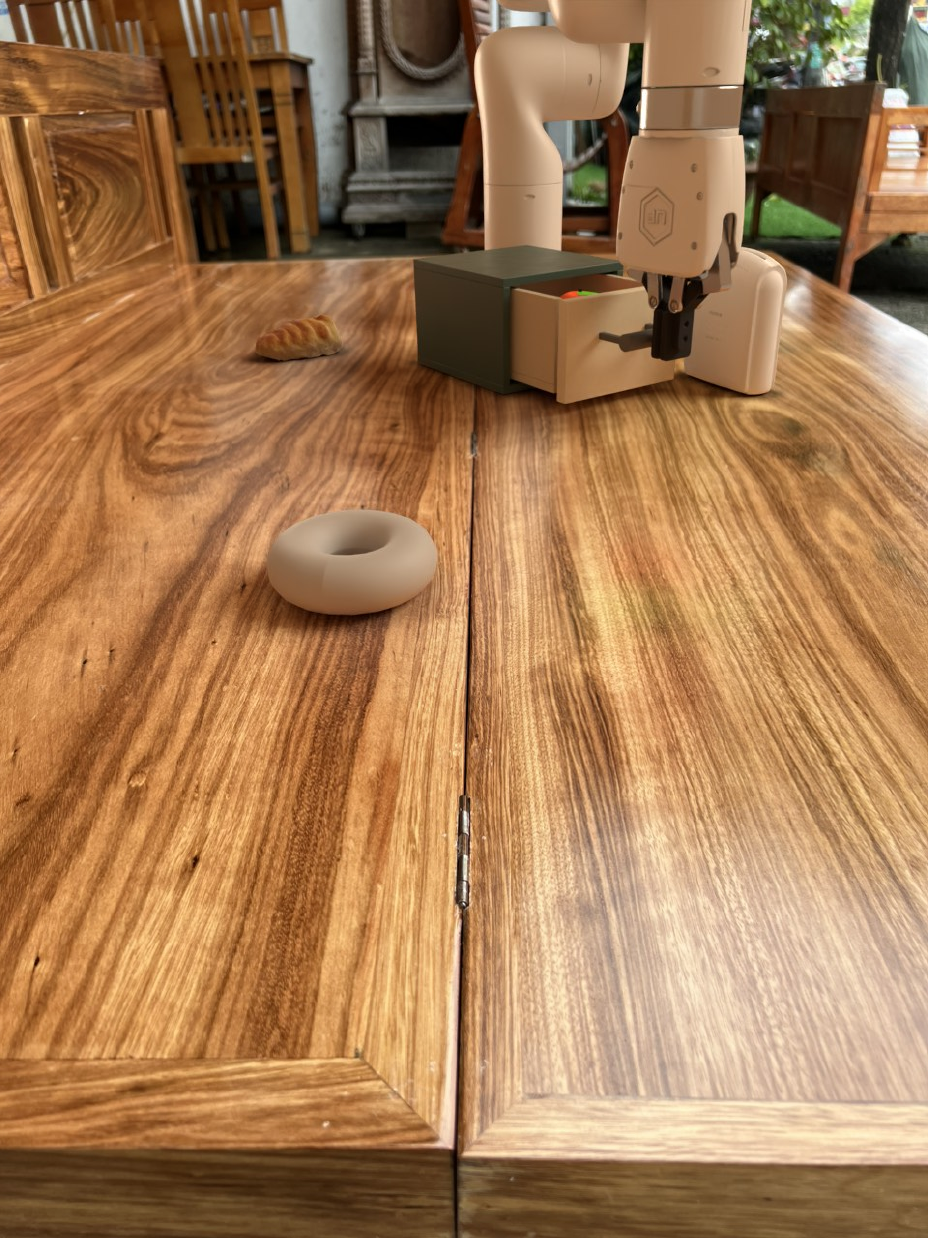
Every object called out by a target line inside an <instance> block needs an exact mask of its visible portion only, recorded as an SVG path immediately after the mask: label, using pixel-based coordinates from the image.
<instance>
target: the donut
mask: <svg viewBox="0 0 928 1238" xmlns="http://www.w3.org/2000/svg"><path fill="white" fill-rule="evenodd" d="M438 558H439V552H438V547H437V546H436V543H435V541H434V540H433V538H432V537H431V534H430V533H429V531H428V530H427V529H426V528H424V527H423V526H422V525H420V524H419V523H418V522H416V521H414V520H413V519H411V518H410V517H407V516H403V515H401V514H398V513H395V512H390V511H383V510H378V509H377V510H376V509H344V510H343V509H342V510H335V511H329V512H325V513H321V514H316V515H313V516H311V517H308V518H306V519H303V520H301V521H297V522H296V523H293V524H292V525H290V526H289V527H288V528H286V529H284V530H283V531H282V532H281V533H280V534H279V535H277V537H275V539H274V541H273V543H272V544H271V547H270V548H269V550H268V552H267V555H266V563H265V565H266V571H267V576H268V577H267V578H268V580H269V583H270V585H271V586H272V587H273V589H274V590H275V592H277V593H278V594H279V595H280V596H281V597H282V598H283V599H284V600H285V601H286V602H288V603H290V604H291V605H294V606H296V607H298V608H301V609H303V610H305V611H308V612H313V613H318V614H322V615H329V616H356V615H364V614H371V613H378V612H381V611H385V610H388V609H392V608H396V607H398V606H401V605H403V604H404V603H407V602H409V601H410V600H412V599H414V598H415V597H417V596H418V595H419V594H420V593H422V591H423V590H424V589H425V588H426V587H427V586H428V585H429V584H430V583H431V582H432V580H433V578H434V576H435V575H436V574H435V573H436V569H437V564H438Z"/></svg>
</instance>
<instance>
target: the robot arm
mask: <svg viewBox="0 0 928 1238" xmlns="http://www.w3.org/2000/svg"><path fill="white" fill-rule="evenodd" d="M495 1H496V3H498V5H499V6H501V7H502V8H504V9H506V10H509V11H514V12H521V13H522V12H524V13H550V14H551V18H552V20H553V22H554V25H525V26H523V25H522V26H511V27H510V26H509V27H504V28H501V29H498V30H496V31H493V32H491V33H489V34H488V35H487V36H486V37H484V38H483V39H482V41H481V42H480V43H479V45H478V47H477V50H476V52H475V57H474V64H473V75H474V76H473V77H474V84H475V92H476V99H477V104H478V112H479V119H480V127H481V128H480V129H481V140H482V141H481V142H482V157H483V158H482V159H483V160H482V161H483V213H484V214H483V215H484V217H483V219H484V220H483V222H484V225H483V226H484V230H483V231H484V250H490V249H498V248H506V247H514V246H522V245H530V246H536V247H542V248H548V249H554V250H560V251H562V232H563V231H562V230H563V228H562V227H563V190H564V189H563V188H564V170H563V169H564V168H563V167H564V166H563V160H562V157H561V154H560V152H559V150H558V148H557V146H556V144H555V143H554V142H553V140H552V138H551V137H550V136H549V134H548V132H547V131H546V130H545V127H544V125H543V124H544V123H552V122H556V121H557V122H564V121H565V122H566V121H567V122H568V121H587V120H599V119H603V118H606V117H609V116H610V115H612V114H613V113H614V112H615V111H616V110H617V109H618V107H619V105H620V103H621V101H622V98H623V95H624V90H625V86H626V81H627V80H626V79H627V73H628V64H629V54H630V44H643V51H642V53H643V54H642V71H641V72H642V73H641V86H640V87H641V89H640V100H639V101H638V103H637V106H636V114H637V115H638V117H639V123H638V125H639V126H638V128H639V129H638V135H632V137H631V140H630V144H629V148H628V151H627V156H626V161H625V165H624V171H623V177H622V182H621V190H620V195H619V205H618V206H619V207H618V215H617V225H616V226H617V227H616V236H615V237H616V239H615V256H616V260H618V261H619V262H620V263H621V264H622V265H623V267H624V268H626V274H627V276H628V278H632V279H634V280H636V281H638V282H639V283H642V284H643V286H644V288H645V290H646V291H647V293H648V304H649V307H650V308H651V309H655V310H654V316H653V330H652V345H651V357H652V358H655V359H661V360H663V361H671V360H675V361H676V360H680V359H684V358H685V357H688V356H690V354H691V348H692V336H693V325H694V313H695V310H696V309H699V308H701V306H702V303H703V300H704V299H705V298H706V297H707V296H708V295H709V294H711V293H717V292H723V291H728V290H729V289H730V288H731V286H732V281H731V270H732V269H734V268H735V266H736V265H737V263H738V260H739V256H740V251H741V247H742V243H743V235H744V224H745V211H746V210H745V207H746V160H745V146H744V136H743V135H742V134H741V135H740V132H739V131H740V121H741V113H742V112H741V111H742V103H743V92H744V86H743V85H744V83H745V74H746V73H745V72H746V64H747V63H746V62H747V52H748V44H749V32H750V24H751V12H752V3H753V0H495Z"/></svg>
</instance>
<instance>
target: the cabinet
mask: <svg viewBox="0 0 928 1238" xmlns="http://www.w3.org/2000/svg"><path fill="white" fill-rule="evenodd" d="M412 264H413V285H414V286H413V287H414V304H415V305H414V306H415V328H416V348H417V349H416V350H417V364H419V365H423V366H425V367H427V368H430V369H433V370H435V371H438V372H441V373H444V374H446V375H449V376H452V377H454V378H457V379H459V380H463V381H465V382H468V383H470V384H473V385H476V386H479V387H482V388H484V389H486V390H490V391H491V392H496V393H498V394H500V395H509V394H513V393H518V392H523V391H526V390H531V389H536V388H537V387H534V386H531V385H528V384H525V383H522V382H519V381H516V380H513V379H510V287H512V286H519V285H525V284H532V283H539V282H545V281H552V280H559V279H565V278H572V277H579V276H585V275H592V274H599V273H606V274H612V275H617V276H622V277H624V266H623V265H622V264H621V263H620V262H619V261H618V259H612V258H607V257H600V256H595V255H590V254H589V255H588V254H583V253H576V252H570V251H566V250H565V251H564V250H561V251H560V250H554V249H548V248H542V247H536V246H530V245H522V246H514V247H506V248H498V249H490V250H485V249H483V250H475V251H468V252H459V253H451V254H444V255H435V256H427V257H419V258H413V259H412ZM537 389H538V388H537Z"/></svg>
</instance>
